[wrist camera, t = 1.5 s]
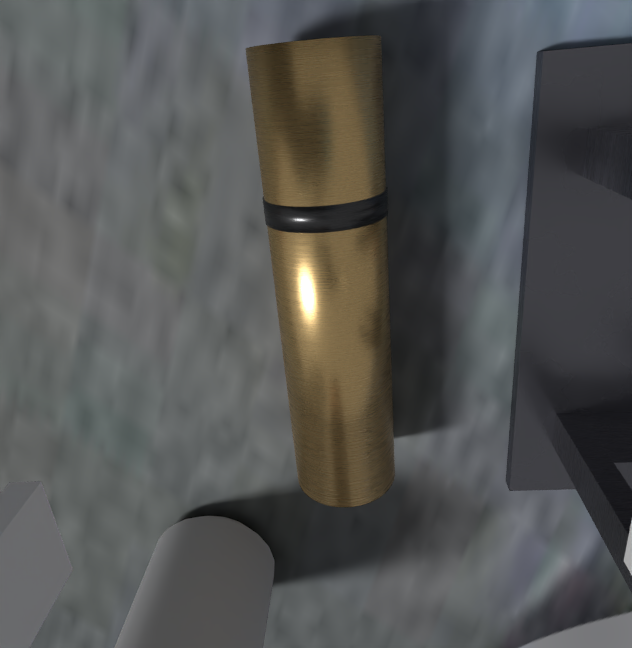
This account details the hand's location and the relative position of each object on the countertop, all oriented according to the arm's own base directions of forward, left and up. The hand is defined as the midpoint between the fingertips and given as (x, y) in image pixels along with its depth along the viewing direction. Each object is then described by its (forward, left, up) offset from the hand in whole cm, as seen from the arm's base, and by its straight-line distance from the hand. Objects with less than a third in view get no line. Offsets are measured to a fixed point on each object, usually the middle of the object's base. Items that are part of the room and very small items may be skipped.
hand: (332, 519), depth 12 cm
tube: (0, 0, -16) cm, 16 cm away
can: (+18, -9, -16) cm, 26 cm away
